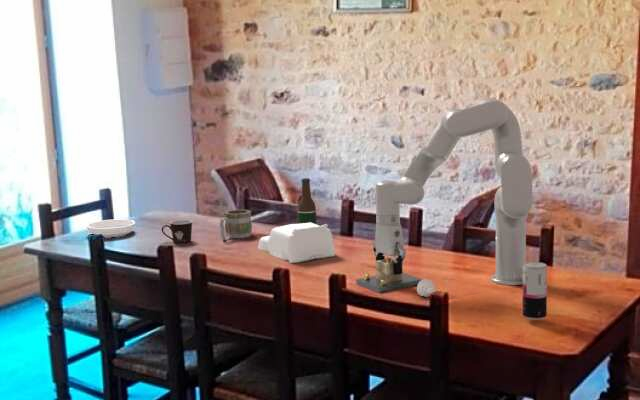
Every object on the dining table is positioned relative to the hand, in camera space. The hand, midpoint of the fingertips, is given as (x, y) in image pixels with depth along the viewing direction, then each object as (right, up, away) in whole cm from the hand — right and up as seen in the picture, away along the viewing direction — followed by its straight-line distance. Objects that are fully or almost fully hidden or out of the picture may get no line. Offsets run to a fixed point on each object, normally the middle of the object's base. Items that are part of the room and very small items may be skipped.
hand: (389, 271), depth 294 cm
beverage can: (+38, -10, -38) cm, 55 cm away
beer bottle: (-27, +8, +77) cm, 82 cm away
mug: (-57, +6, +71) cm, 91 cm away
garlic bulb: (+11, -7, -16) cm, 21 cm away
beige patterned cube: (0, -3, +1) cm, 3 cm away
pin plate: (0, -4, +1) cm, 4 cm away
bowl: (-108, +6, +82) cm, 136 cm away
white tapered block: (-31, +2, +45) cm, 55 cm away
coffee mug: (-78, +4, +66) cm, 103 cm away
